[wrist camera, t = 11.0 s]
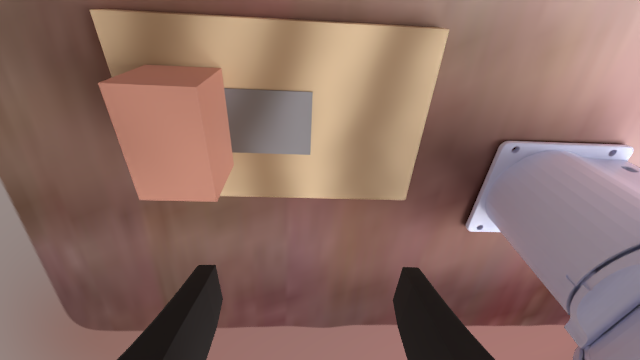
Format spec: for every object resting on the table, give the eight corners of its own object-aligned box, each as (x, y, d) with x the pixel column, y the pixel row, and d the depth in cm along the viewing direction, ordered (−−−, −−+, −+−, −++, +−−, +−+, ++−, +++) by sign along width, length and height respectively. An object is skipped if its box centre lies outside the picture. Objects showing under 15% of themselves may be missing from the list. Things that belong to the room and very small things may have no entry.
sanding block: (221, 68, 15) (196, 87, 12) (233, 164, 19) (217, 201, 15) (145, 64, 15) (97, 82, 12) (171, 163, 18) (139, 200, 15)
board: (440, 27, 16) (450, 29, 15) (400, 190, 22) (405, 201, 21) (104, 8, 15) (88, 9, 14) (157, 184, 21) (149, 195, 20)
